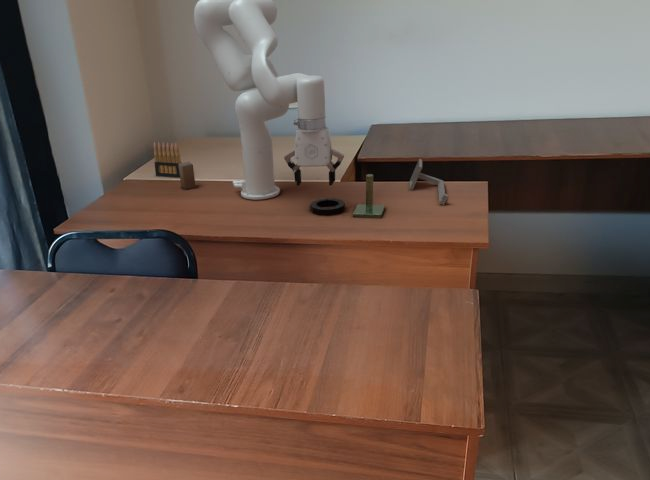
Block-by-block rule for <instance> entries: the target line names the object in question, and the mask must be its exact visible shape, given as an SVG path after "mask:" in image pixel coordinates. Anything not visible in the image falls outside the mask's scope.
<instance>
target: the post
mask: <svg viewBox="0 0 650 480" xmlns="http://www.w3.org/2000/svg"><path fill="white" fill-rule="evenodd" d="M385 209H386V205H385V204H374V174H373V173H368V174H366V175H365V204H357V205H356V207H355V209H354V211H353V213H352V217H353V218H368V219H369V218H372V219H381V218H382V217H383V214H384V212H385Z"/></svg>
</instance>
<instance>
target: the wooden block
mask: <svg viewBox="0 0 650 480" xmlns="http://www.w3.org/2000/svg"><path fill="white" fill-rule="evenodd" d="M178 166H179V174H180V178H179V180H180V187H181V188H182V189H184V190H188V189H195V188H196V178H195V171H194V164H193V163H192V162H190V161H185V162H182V163H180V164H178Z"/></svg>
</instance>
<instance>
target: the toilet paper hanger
mask: <svg viewBox="0 0 650 480" xmlns="http://www.w3.org/2000/svg"><path fill="white" fill-rule="evenodd" d="M422 170H423V159H421V158H419V159H418V160H417V163H416V165H415V168H414V170H413V172H412V174H411V177H410V178H409V179H410V180H409V190H411V191H413V190H414V188H415V185H416V183H417V181H418V179H420V180H422V181H425V182H427V183H430V184H434V185H437V190H438V191H437V192H438V202H439V205H441V206H445V204H446V202H447V199H448V198H449V194H447V193H446V190H445V188H446V187H445V181H444V180H442V179H440V178H437V177H434V176H431V175H429V174H425V173H423V172H421V171H422Z"/></svg>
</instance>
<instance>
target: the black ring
mask: <svg viewBox="0 0 650 480" xmlns="http://www.w3.org/2000/svg"><path fill="white" fill-rule="evenodd" d="M309 211H310V212H311V213H312V214H313V215H318V216H335V215H336V216H337V215H339V214H342V213H344V212H345V211H346V202H345V201H343V200H342V199H339V198H334V197H324V198H318V199H315V200H313V201H311V203H310V204H309Z"/></svg>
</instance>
